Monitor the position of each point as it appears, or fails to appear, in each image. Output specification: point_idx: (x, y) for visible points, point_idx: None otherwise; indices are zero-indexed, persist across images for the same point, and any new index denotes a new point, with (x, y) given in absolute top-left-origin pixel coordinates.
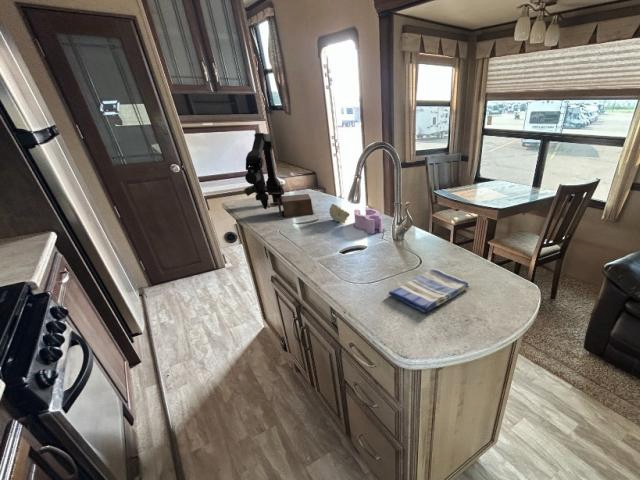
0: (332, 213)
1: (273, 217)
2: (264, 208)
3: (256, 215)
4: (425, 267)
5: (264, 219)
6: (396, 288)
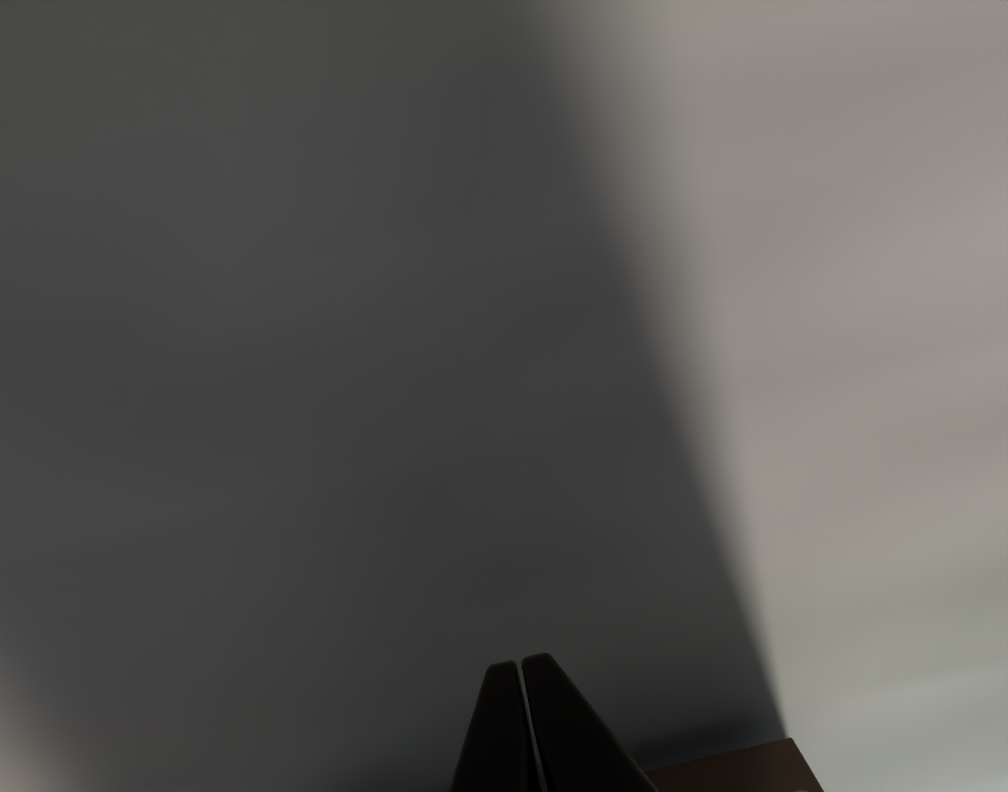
0: None
1: (320, 693)
2: (485, 698)
3: (600, 204)
4: None
5: (137, 538)
6: None
